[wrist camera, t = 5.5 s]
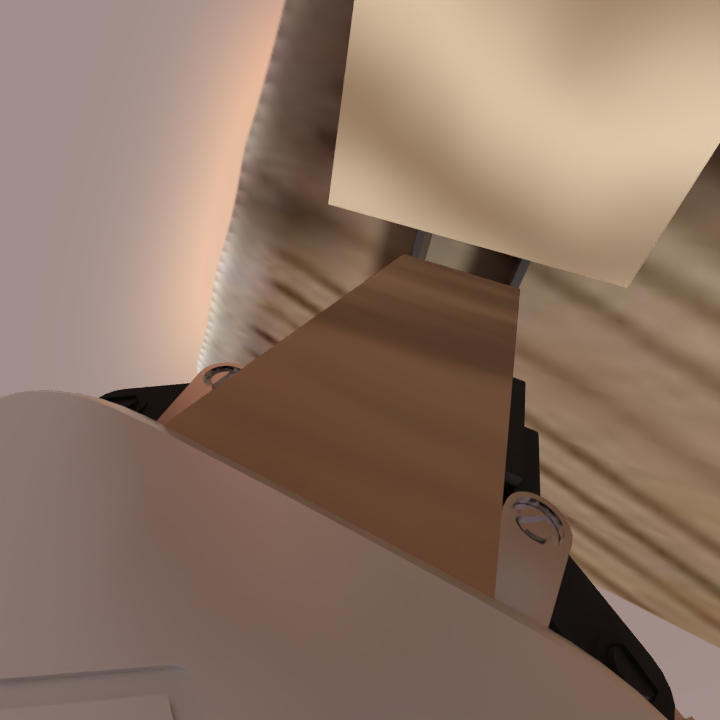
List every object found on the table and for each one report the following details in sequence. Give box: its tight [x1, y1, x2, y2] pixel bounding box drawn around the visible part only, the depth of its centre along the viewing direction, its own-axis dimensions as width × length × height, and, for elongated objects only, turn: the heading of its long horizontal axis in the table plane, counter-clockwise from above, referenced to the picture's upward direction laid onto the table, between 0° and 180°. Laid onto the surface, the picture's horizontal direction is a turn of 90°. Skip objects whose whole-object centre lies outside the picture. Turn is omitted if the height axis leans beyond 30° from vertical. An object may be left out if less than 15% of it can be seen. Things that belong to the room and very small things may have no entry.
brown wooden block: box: [164, 254, 520, 599], centre depth 9 cm, size 5×5×16 cm
